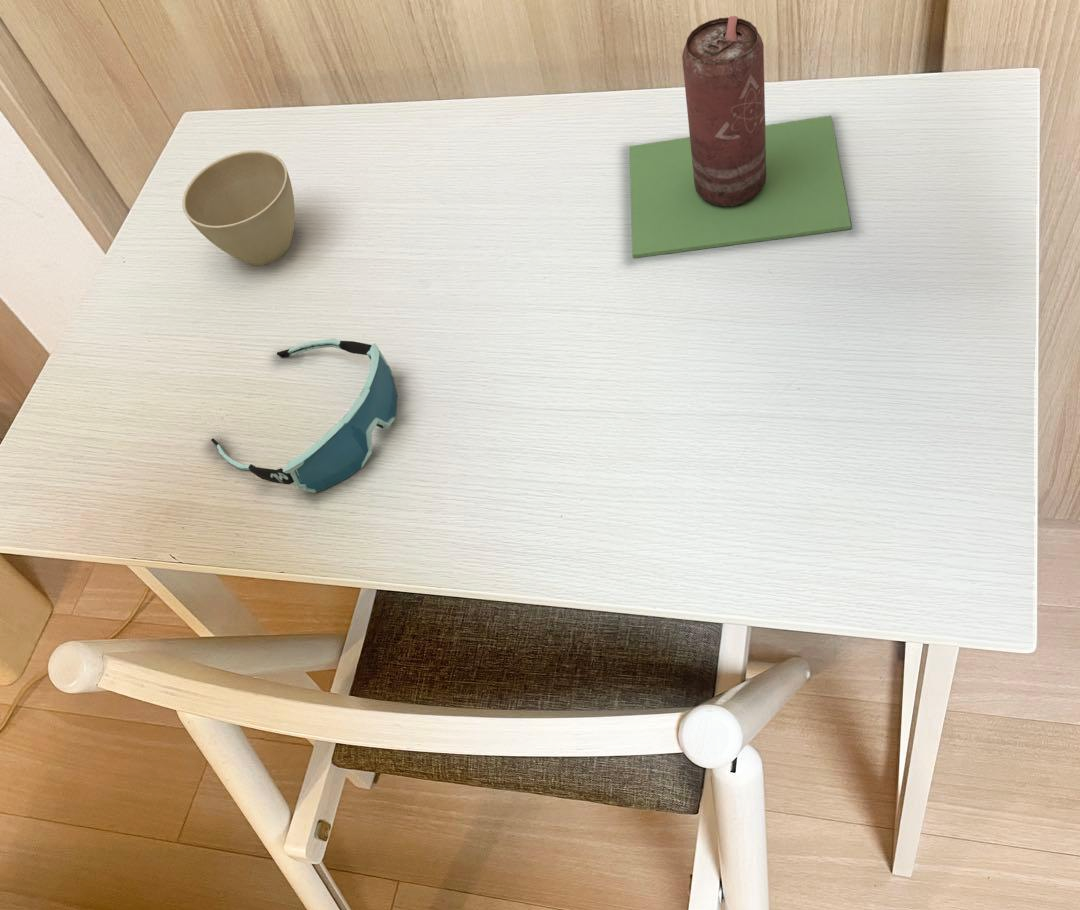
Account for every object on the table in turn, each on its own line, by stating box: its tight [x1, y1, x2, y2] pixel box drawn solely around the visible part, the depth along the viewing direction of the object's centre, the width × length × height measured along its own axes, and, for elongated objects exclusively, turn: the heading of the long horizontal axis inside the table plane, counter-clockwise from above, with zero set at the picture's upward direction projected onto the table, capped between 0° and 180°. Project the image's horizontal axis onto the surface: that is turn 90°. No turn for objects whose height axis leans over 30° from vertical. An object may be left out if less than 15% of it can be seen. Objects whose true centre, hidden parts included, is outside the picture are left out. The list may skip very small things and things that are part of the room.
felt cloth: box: [629, 115, 852, 259], centre depth 90 cm, size 18×14×1 cm
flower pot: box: [181, 149, 296, 266], centre depth 96 cm, size 10×10×7 cm
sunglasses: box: [210, 338, 398, 494], centre depth 84 cm, size 14×15×5 cm
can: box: [681, 15, 766, 207], centre depth 84 cm, size 6×6×14 cm
